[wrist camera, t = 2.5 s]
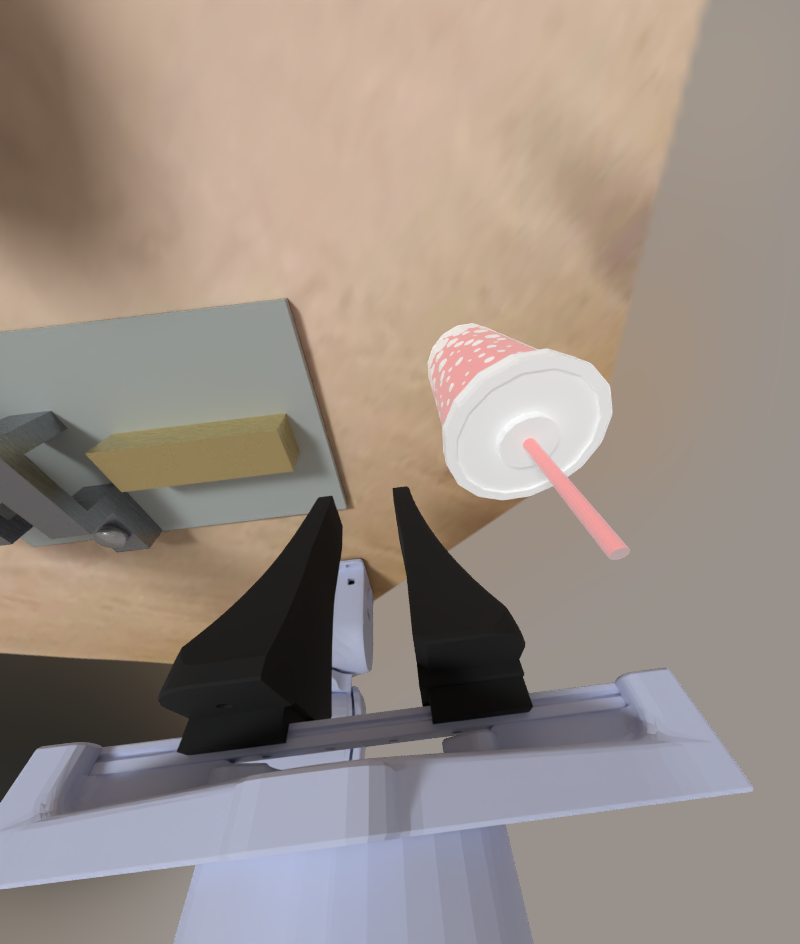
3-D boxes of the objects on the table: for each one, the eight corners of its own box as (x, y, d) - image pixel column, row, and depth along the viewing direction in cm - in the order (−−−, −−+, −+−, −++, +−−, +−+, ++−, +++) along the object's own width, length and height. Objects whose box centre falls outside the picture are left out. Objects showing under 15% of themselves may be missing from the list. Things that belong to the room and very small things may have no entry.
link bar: (285, 412, 18) (276, 430, 16) (300, 451, 20) (293, 471, 18) (112, 433, 18) (84, 453, 16) (143, 471, 20) (121, 492, 18)
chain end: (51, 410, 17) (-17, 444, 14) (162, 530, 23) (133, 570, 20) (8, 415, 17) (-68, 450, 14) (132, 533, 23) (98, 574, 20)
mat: (287, 298, 15) (284, 300, 14) (347, 503, 24) (346, 508, 24) (-217, 357, 15) (-236, 361, 14) (40, 541, 24) (33, 547, 23)
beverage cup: (398, 388, 18) (440, 598, 7) (449, 285, 15) (664, 383, 4) (475, 422, 20) (599, 628, 9) (534, 338, 17) (834, 501, 6)
